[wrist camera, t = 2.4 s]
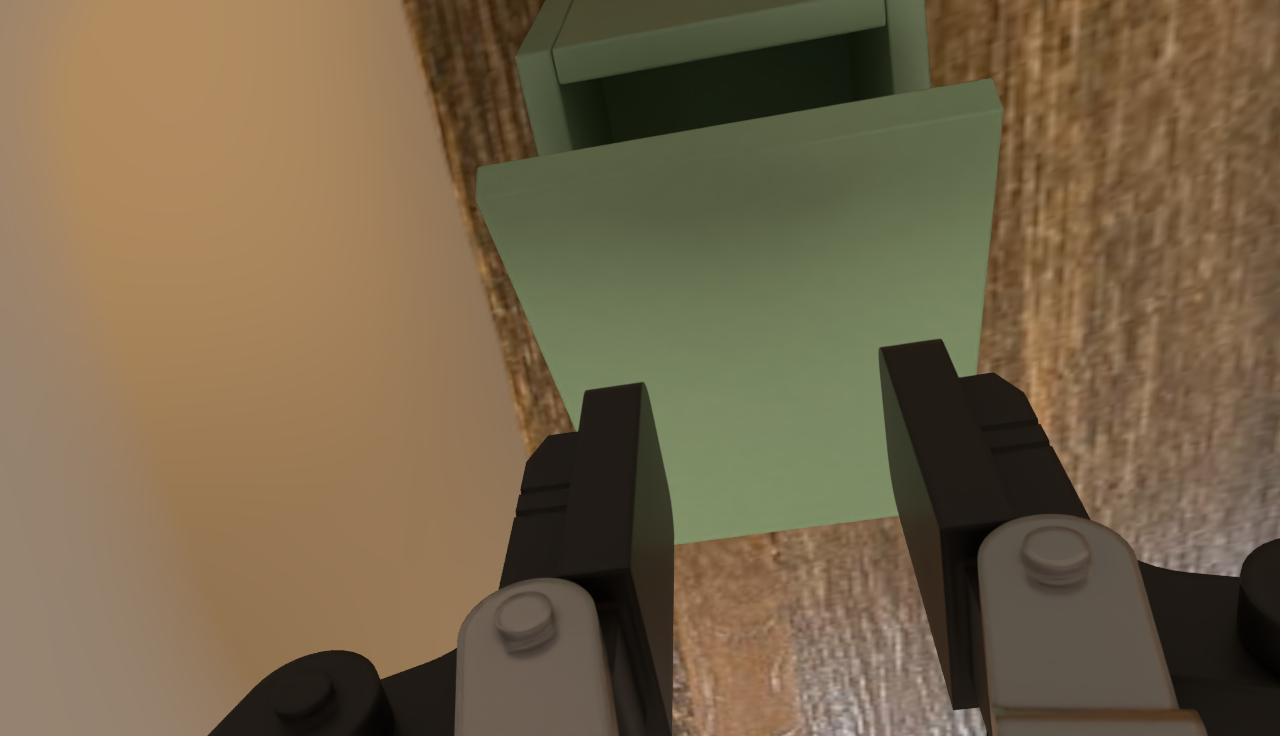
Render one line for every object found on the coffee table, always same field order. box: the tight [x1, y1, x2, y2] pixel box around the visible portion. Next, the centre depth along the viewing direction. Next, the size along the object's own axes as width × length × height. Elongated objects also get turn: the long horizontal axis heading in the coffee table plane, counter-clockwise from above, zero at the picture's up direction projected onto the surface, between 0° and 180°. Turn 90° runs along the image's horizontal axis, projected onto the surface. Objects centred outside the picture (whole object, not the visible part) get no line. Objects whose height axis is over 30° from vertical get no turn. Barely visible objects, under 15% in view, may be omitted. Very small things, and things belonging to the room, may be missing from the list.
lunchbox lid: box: [476, 78, 1004, 545], centre depth 23 cm, size 13×9×1 cm, turn 10°
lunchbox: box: [515, 0, 931, 156], centre depth 30 cm, size 13×9×9 cm
